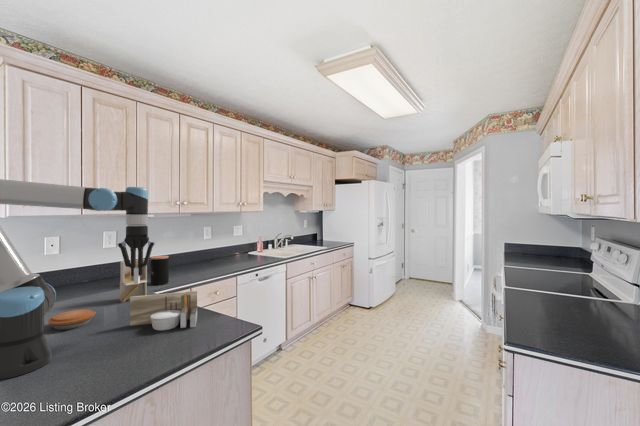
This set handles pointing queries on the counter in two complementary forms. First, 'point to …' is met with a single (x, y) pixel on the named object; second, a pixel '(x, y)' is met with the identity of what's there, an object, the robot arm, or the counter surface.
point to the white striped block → (193, 317)
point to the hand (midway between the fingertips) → (136, 283)
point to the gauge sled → (184, 313)
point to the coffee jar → (159, 270)
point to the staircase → (131, 282)
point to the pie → (71, 319)
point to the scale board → (159, 305)
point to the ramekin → (165, 319)
